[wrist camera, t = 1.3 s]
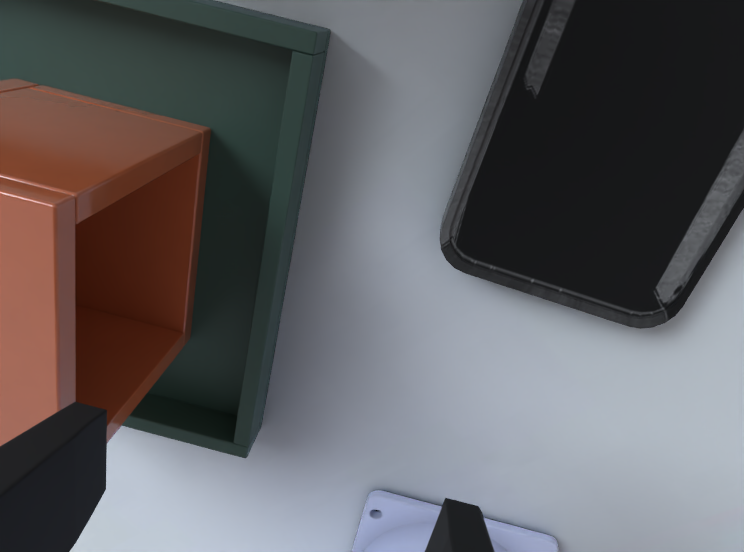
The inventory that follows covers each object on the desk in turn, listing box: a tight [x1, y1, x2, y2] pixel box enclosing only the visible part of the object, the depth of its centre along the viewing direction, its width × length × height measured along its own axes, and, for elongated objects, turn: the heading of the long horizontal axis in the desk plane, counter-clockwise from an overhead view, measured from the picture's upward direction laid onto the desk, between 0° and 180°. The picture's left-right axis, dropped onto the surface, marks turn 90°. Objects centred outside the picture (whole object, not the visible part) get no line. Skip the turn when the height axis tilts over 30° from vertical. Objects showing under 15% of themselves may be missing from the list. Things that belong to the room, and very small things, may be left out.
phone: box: [440, 0, 744, 328], centre depth 16 cm, size 8×1×15 cm
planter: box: [0, 78, 211, 446], centre depth 17 cm, size 6×8×8 cm
